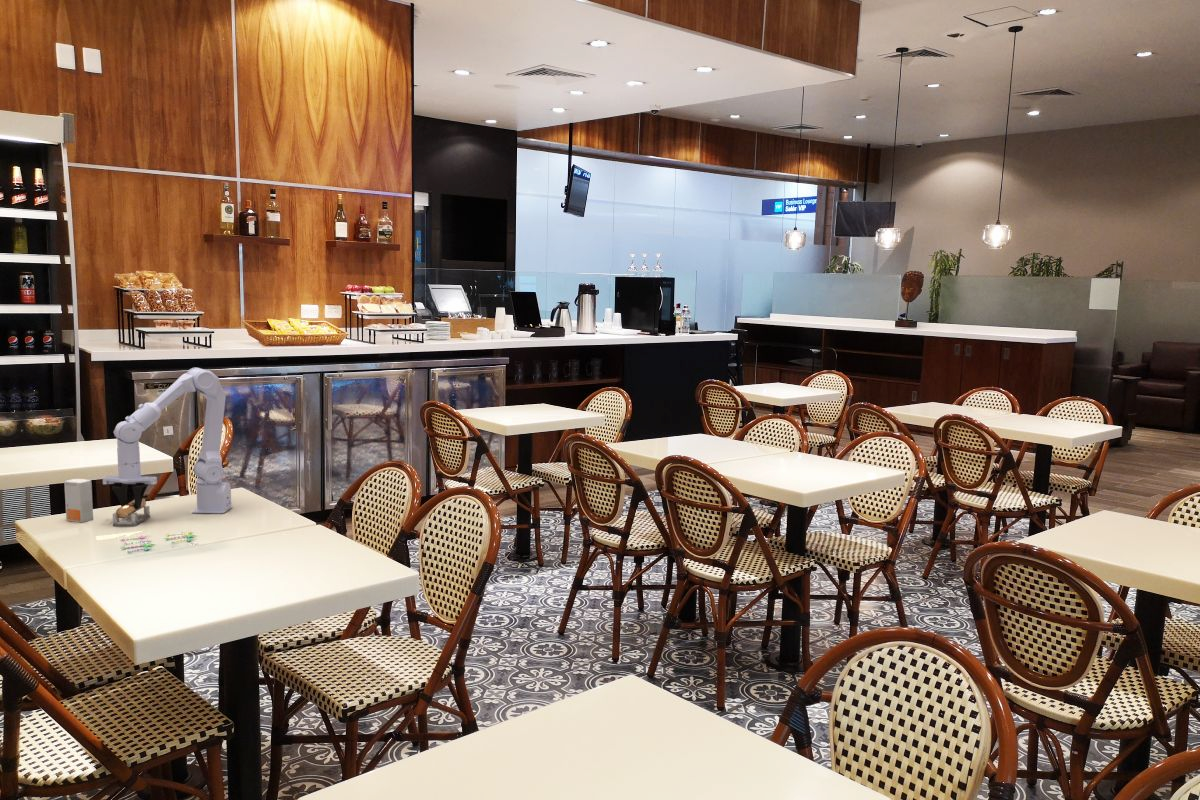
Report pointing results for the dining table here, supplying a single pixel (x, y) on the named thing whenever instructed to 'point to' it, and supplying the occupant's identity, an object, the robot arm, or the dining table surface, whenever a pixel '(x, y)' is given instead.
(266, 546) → the dining table surface
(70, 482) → the skincare box
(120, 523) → the cradle
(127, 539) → the clear flat square panel
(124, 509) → the tube
